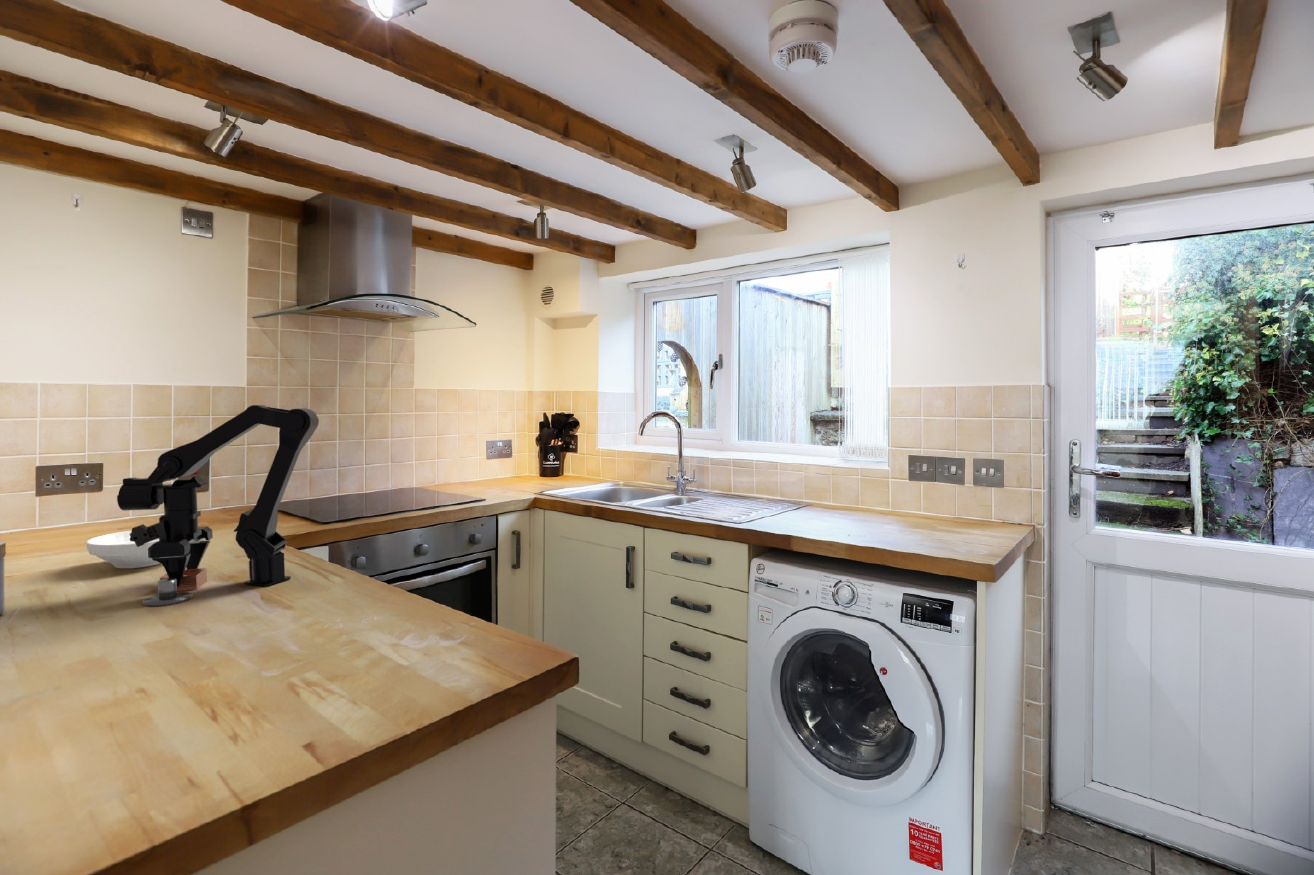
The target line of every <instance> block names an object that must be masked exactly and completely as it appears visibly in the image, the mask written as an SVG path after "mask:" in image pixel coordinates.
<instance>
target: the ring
mask: <svg viewBox="0 0 1314 875" xmlns="http://www.w3.org/2000/svg"><path fill="white" fill-rule="evenodd" d="M163 579H169V577H168V575H167V573H165V574H164V575H162V576H160V577H159V580H163ZM207 582H208V575H207V567H200V568H199V567H198V569H187V568H186V569H185V572H184V575H183V578H182V581H181V583H180V586H179V587H177V592H186V591H195V590H198V589H199V588H201V587H202V586H203V585H204V584H206V583H207Z"/></svg>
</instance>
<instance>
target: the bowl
mask: <svg viewBox="0 0 1314 875" xmlns="http://www.w3.org/2000/svg"><path fill="white" fill-rule="evenodd" d="M130 533H132V530H126V531H120V532H119V531H118V532H114V533H112V532H111V533H108V534H104V535H99V536H95V537H92V538H90V539H88V540H86V542H85V543H86V549H87V552H88V554H89V555H91V556H96V557H97V558H99V559H101V560H103V561H105V562H107V563H110V564H111V565H113V567H115V568H117V569H135V568H137V569H138V568H145V567H146V568H147V567H151V566H156V565H159V564H161V563H159V562H157V561H154V560H152V558H148V548H149V547H150V546H151V545H152V544H154V543H156V542H158V541H159V538H158V539H155V540H153V541H150V542H147V543H144V545H142V546H139V547H137V546H136V544H135V542H134V541H130V538H131V537H130Z"/></svg>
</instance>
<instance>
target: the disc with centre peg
mask: <svg viewBox="0 0 1314 875" xmlns="http://www.w3.org/2000/svg"><path fill="white" fill-rule="evenodd" d="M193 595H194V594H193V593H192V592H189V591H177V580H176V579H175V578H170V579H163V580H160V579H158V581H157V594H156V595H151V596H149V597H145V598H144V599H143V600H142V606H144V607H165V606H171V605H176V604H180V603H183V602H187V601H189V600H191V599H193Z"/></svg>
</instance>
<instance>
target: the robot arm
mask: <svg viewBox="0 0 1314 875" xmlns="http://www.w3.org/2000/svg"><path fill="white" fill-rule="evenodd" d="M319 422H320V421H319V417H318V416H317V413H316V412H314V411H313V410H311V409H309V408H306V407H304V408H291V409H284V408H276V407H270V406H266V405H263V404H252V405H249V406H248V407H247V408H245V410H243V411H241V412H240V413H238V414H237V415H235V416H234V417H232V418H231V419H229V420H227V421H225V422H224V423H223V424H221V425H219V426H218V427H216V428H214V429H213V430H211V431H209V432H208V433H206V434H205V435H203V436H202V437H199V438H198V439H196V440H193V441H191V442H188V443H186V444H183V445H180V446H178V447H175V448H172V449H171V450H168V451H165V452H163V453H162V454H161V455H159V456H158V458H157V464H156V465H157V466H156V467H155V469H154V470H153V471H152V472H151V473H150V475H149V476H148V477H145V478H142V477H126V478H123V479H122V485H121V487H119V490H118V494H117V496H116V501H117V506H118V507H119V509H120V510H121V511H124V512H126V511H145V510H146V511H148V510H149V511H151V510H152V511H153V510H158V509H159V507H160V505H161V506H162V505H163V510H164V511H163V512H164V513H163V514H162V515H160V517H159V518H158V519H159V520H158V522H157V523H153V524H151V525H149V526H147V525H145V524H144V523H142V524H139V525H138V526H134V527H132V528H131V531H132V533H130V537H131V538H130V541H134V542H135V544H136V546H137V547H139V546H142V545H144V543H147V542H150V541H153V540H155V539H158V538H159V541H158V542H156V543H154V544H152V545H151V546H150V547H149V548H148V558H152V560H154V561H157V562H159V563H160V564H161V565H162V566H163V568H164V570H165V572H166V574H167V575H168V577H169V579H170V578H175V579H176V580H177V587H179V586H180V583H181V581H182V578H183V575H184V572H185V569H198V568H199V566H200V564H201V562H202V560H203V557H204V555H205V554H206V551H207V549H208V547H209V545H210V543H211V540H212V539H213V536H214V535H213V529H212V528H211V527H209V526H199V517H201V515H202V512H201V510H198V498H197V497H198V491H197V490H198V488H202V487H206V486H208V485H209V483H208V482H207V481H206V480H205V479H203V478H202V477H201V476H199V475H194V476H192V477H191V479H178V478H181V477H186V476H191V475H193V474H194V473H196V472H198V470H199V469H200V468H202V467H203V466H204V465H205V464H206V463H207V462H208V461H209V460H210V458H211V457H212V456H213V455H214V454H216V452H218V451H219V450H221V449H223V448H225V447H226V446H228V445H229V444H231V443H232V442H234V441H236V440H237V439H239V438H240V437H242V436H244V435H245V434H247V433H249V432H250V431H252V430H253V429H255V428H256V427H257V428H258V426H260V425H265V426H267V427H273V428H277V429H278V428H279V432H278V436H279V437H278V443H279V444H278V448H277V451H276V453H275V455H274V458H273V460H272V462H271V466H270V468H269V471H268V473H267V475H266V478H265V480H264V484H263V486H262V488H261V491H260V494H259V496H258V498H257V502H256V503H255V506H254V508H251V509H249V510H246V511H244V512H242V513H241V514H240V516H239V519H238V520H239V521H238V524H237V526H236V527H235V529H234V530H233V532H235V541H236V543H237V545H238V546H239V547H240V548H241V549H243V551H244V553H245V555H246V557H247V559H248V560H249V561H248V570H249V571H248V572H249V574H248V575H249V579H248V580H245V581H244V583H243V584H244V585H249V586H250V585H251V586H260V587H269V586H273V585H275V584H278V583H281V582H285V581H288V580H291V576H290V575H286V574H285V569H286V568H285V553H284V552H282V551H283V550H285V549H286V546H287V542H288V539H287V538H285V537H284V536H282V534H281V533H279V532H278V531H277V526H278V522H279V521H278V510H279V506H280V505H281V502H282V499H283V496H284V494H285V491H286V489H287V486H288V483H289V481H290V480H291V479H290V478H291V476H292V473H293V471H294V469H295V466H296V465H297V464H296V463H297V460H298V458H299V456H300V453H301V451H302V450H303V448H304V447H305V445H306V444H307V443H308V442H309V440H310V439H311V438H312V436H313V435H314V433H315V431H316V430H317V428H318V426H319V424H320V423H319ZM169 481H173V483H169V484H168V483H166V484H164V483H165V482H169Z"/></svg>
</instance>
